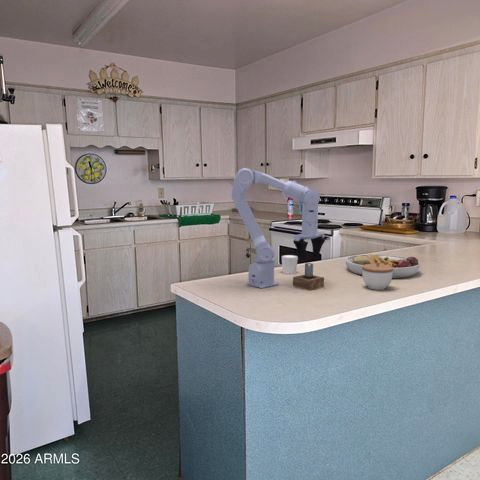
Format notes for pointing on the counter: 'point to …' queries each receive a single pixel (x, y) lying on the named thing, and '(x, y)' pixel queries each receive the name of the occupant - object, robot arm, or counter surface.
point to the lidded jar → (377, 275)
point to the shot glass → (289, 264)
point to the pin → (308, 270)
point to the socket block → (308, 282)
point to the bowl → (399, 264)
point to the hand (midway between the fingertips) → (309, 258)
